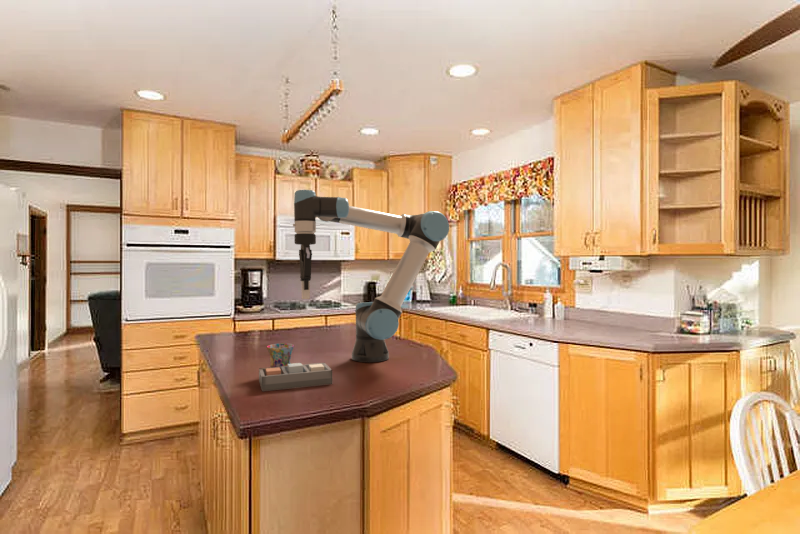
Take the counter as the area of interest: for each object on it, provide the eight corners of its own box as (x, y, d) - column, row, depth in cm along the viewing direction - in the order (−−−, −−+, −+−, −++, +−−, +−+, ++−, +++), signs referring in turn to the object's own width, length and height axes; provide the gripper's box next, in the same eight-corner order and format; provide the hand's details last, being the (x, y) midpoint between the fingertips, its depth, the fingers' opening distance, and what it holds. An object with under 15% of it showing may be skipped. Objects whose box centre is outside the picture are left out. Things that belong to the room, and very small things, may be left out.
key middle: (300, 369, 153) (300, 362, 153) (303, 372, 149) (303, 365, 149) (287, 371, 152) (287, 363, 152) (289, 374, 148) (289, 366, 148)
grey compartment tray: (324, 375, 160) (324, 362, 160) (332, 384, 149) (332, 370, 149) (259, 381, 152) (258, 368, 152) (262, 391, 141) (261, 376, 141)
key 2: (321, 370, 156) (321, 363, 156) (324, 373, 152) (324, 366, 152) (308, 371, 154) (308, 364, 154) (311, 374, 150) (311, 367, 150)
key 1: (279, 374, 151) (279, 367, 151) (281, 377, 147) (281, 370, 147) (265, 375, 149) (265, 368, 149) (266, 379, 145) (266, 371, 145)
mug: (296, 377, 157) (295, 347, 157) (268, 380, 154) (267, 349, 154) (291, 370, 168) (291, 341, 168) (265, 372, 165) (264, 343, 165)
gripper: (291, 234, 170) (292, 297, 170) (297, 232, 158) (298, 300, 158) (312, 234, 172) (312, 297, 173) (319, 232, 160) (319, 299, 161)
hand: (305, 298), depth 165 cm, fingers closed
